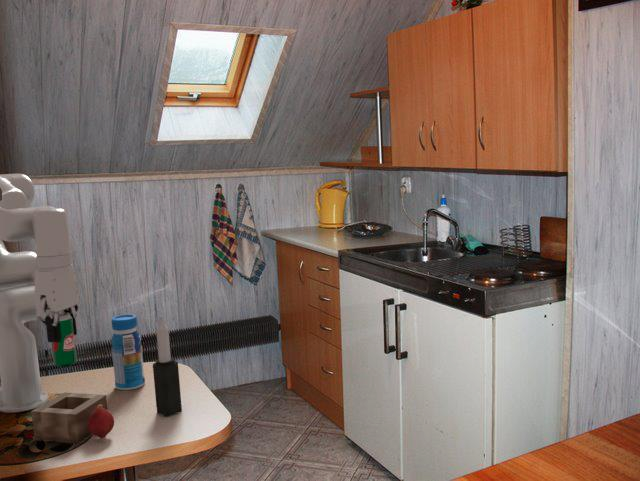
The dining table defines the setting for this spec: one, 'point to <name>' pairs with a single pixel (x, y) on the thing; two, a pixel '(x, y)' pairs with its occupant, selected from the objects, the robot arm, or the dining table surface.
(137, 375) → the beverage bottle
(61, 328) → the soda can
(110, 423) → the onion
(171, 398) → the black handled stick
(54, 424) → the well block
